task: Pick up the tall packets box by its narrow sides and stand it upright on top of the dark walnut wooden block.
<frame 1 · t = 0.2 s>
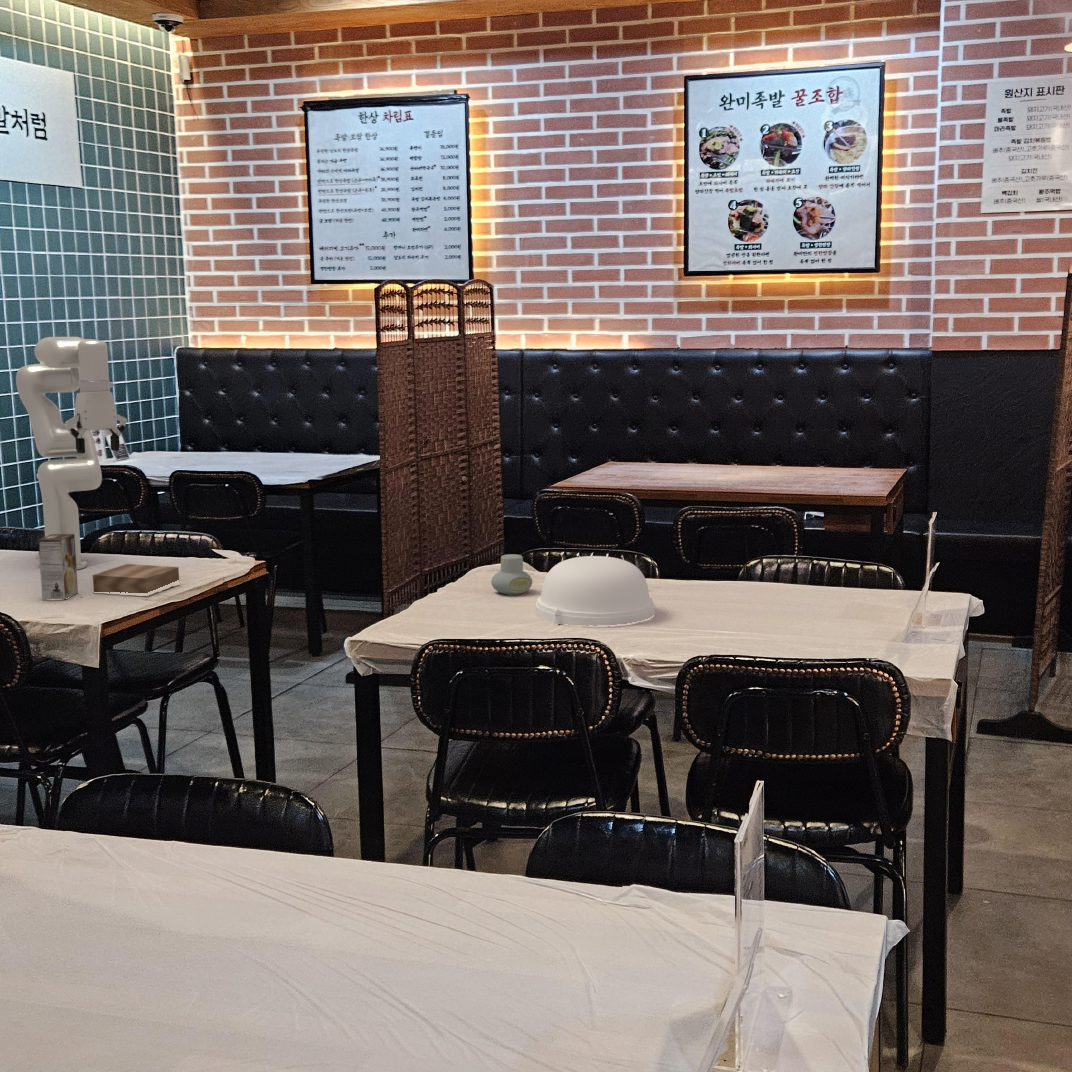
hand: (98, 451, 353), 37 cm above the table, tool pointing down, fingers open, 9 cm apart
dome cover: (594, 615, 330), on the table
coffee box: (60, 597, 347), on the table
air freshener: (511, 593, 353), on the table
walnut base: (137, 589, 356), on the table
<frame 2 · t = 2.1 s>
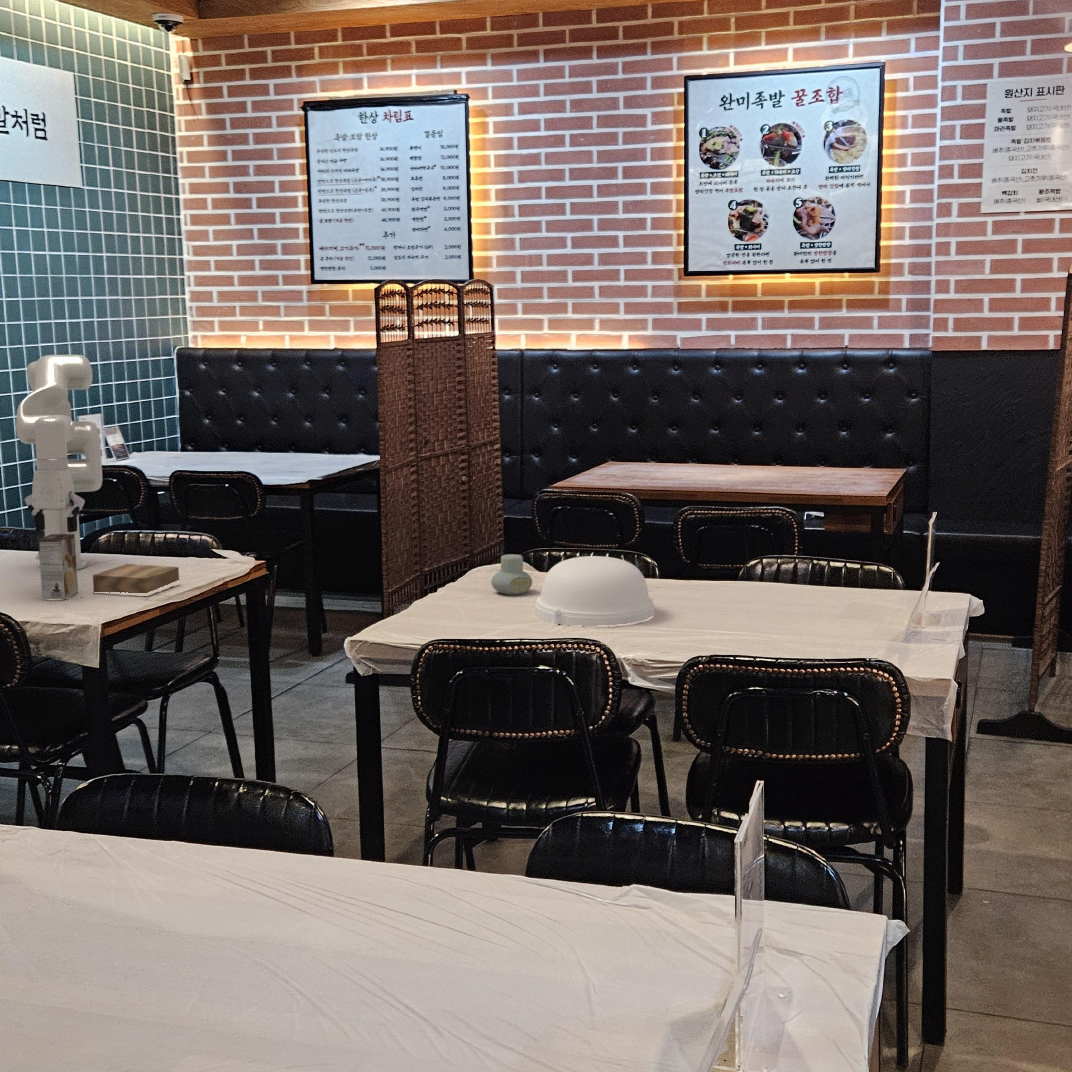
hand: (56, 531, 343), 18 cm above the table, tool pointing down, fingers open, 9 cm apart
nothing on the table moved.
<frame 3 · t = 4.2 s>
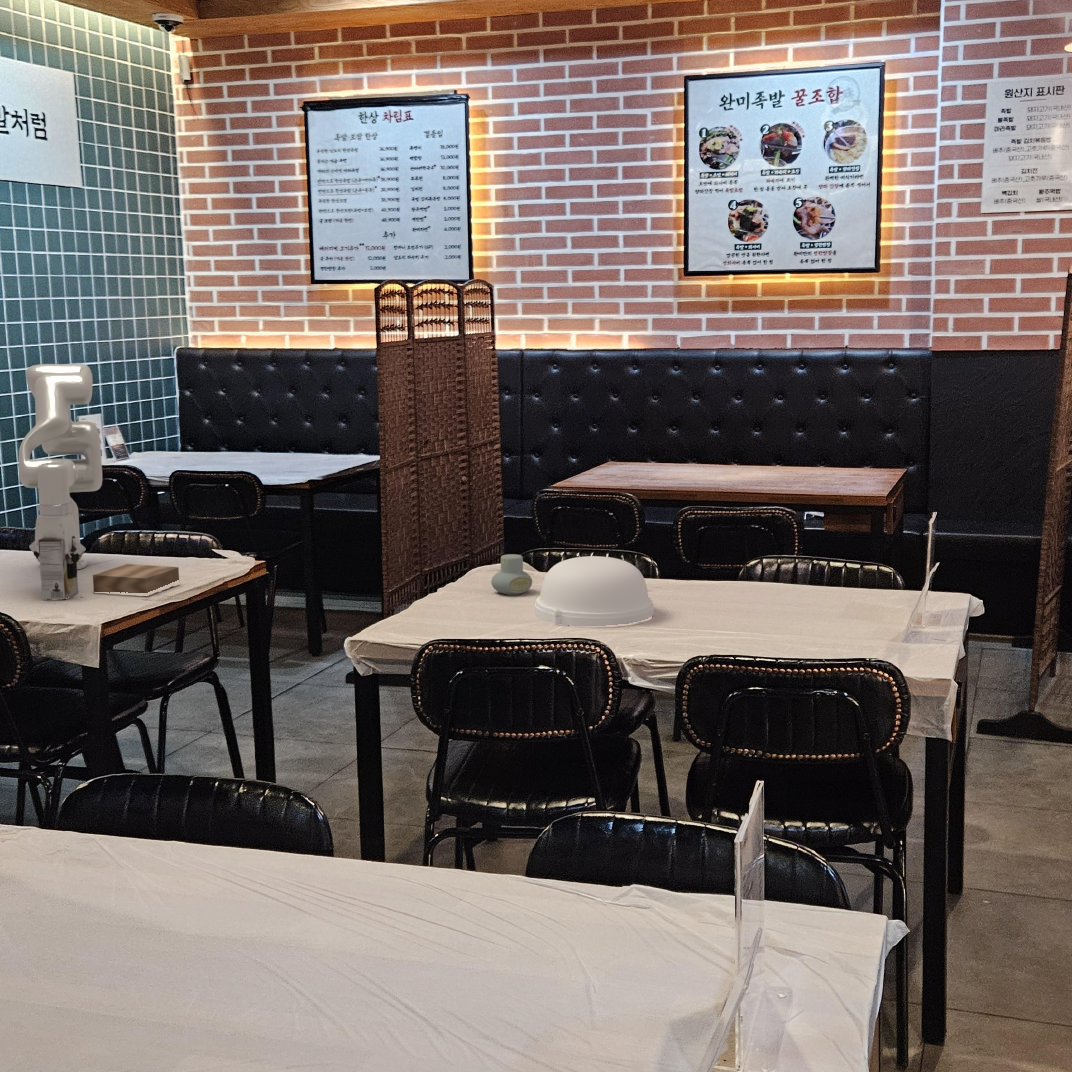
hand: (59, 576, 346), 5 cm above the table, tool pointing down, fingers closed on coffee box, 7 cm apart
coffee box: (60, 597, 347), on the table, touching gripper
everything else where it was.
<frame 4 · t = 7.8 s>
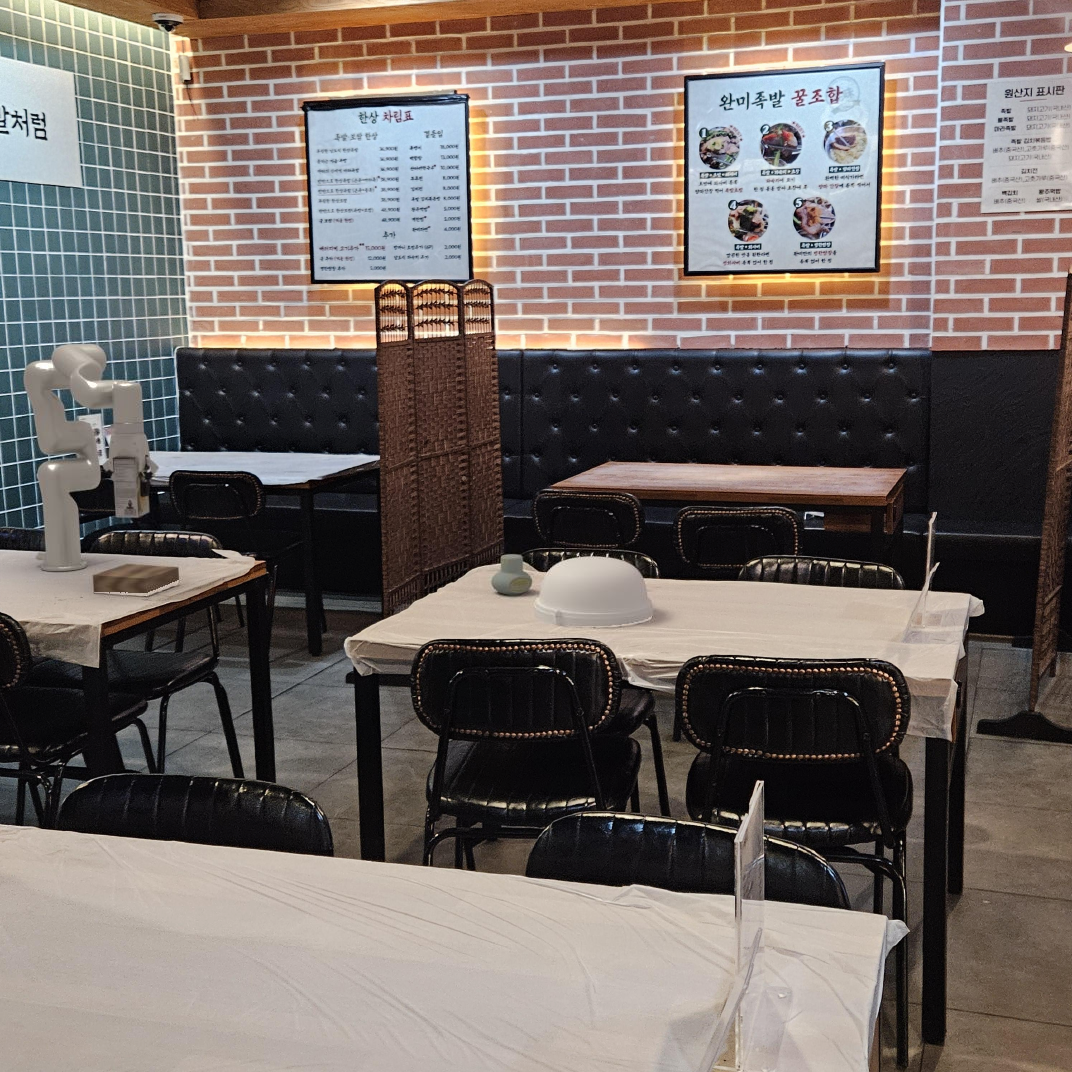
hand: (131, 495, 352), 26 cm above the table, tool pointing down, fingers closed on coffee box, 7 cm apart
coffee box: (132, 515, 353), point 20 cm above the table, touching gripper
everything else where it was.
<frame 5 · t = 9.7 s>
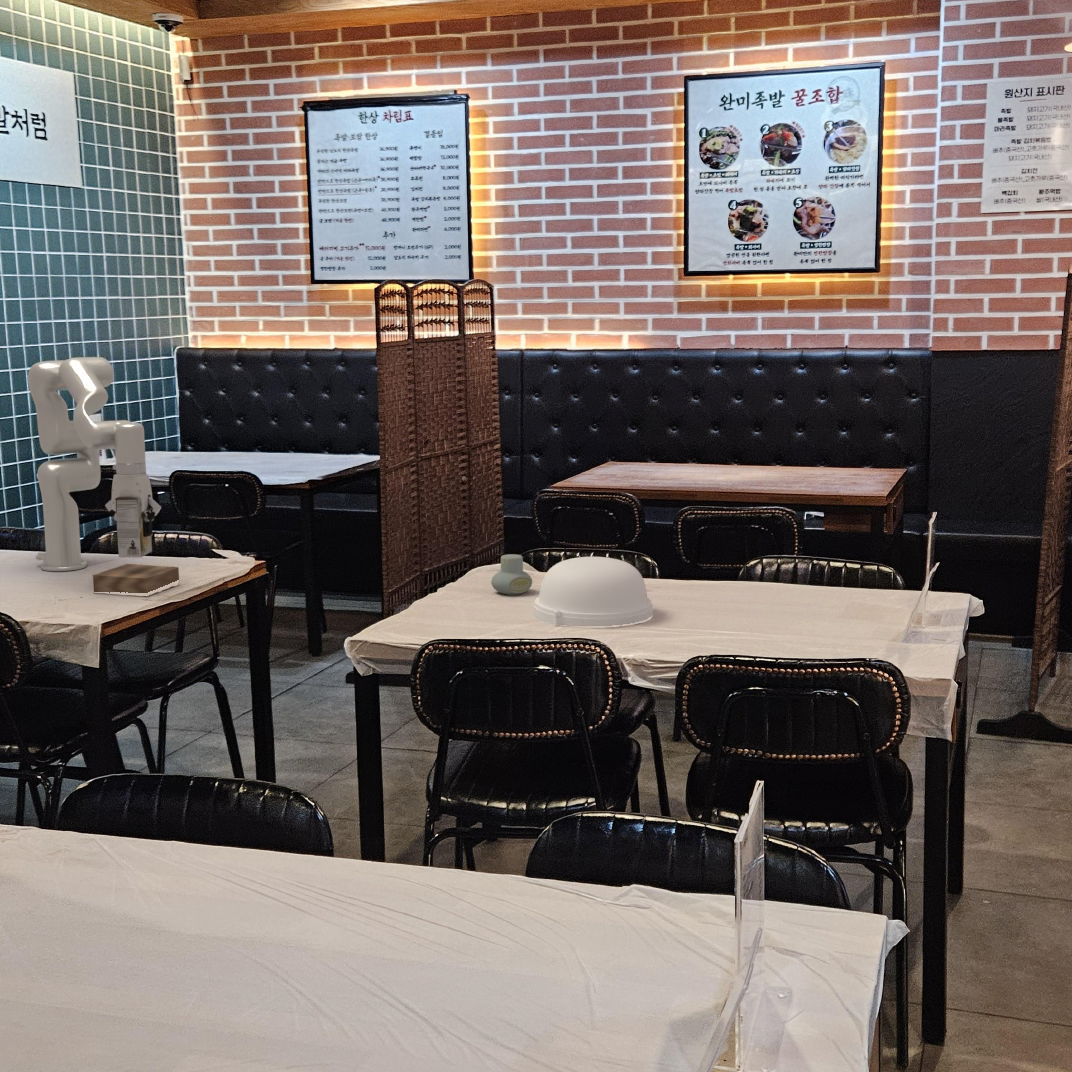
hand: (134, 534, 354), 15 cm above the table, tool pointing down, fingers closed on coffee box, 7 cm apart
coffee box: (135, 555, 355), point 9 cm above the table, touching gripper
when the fingers open (12 cm above the table, at t = 11.4 s): coffee box drops 1 cm, resting on walnut base.
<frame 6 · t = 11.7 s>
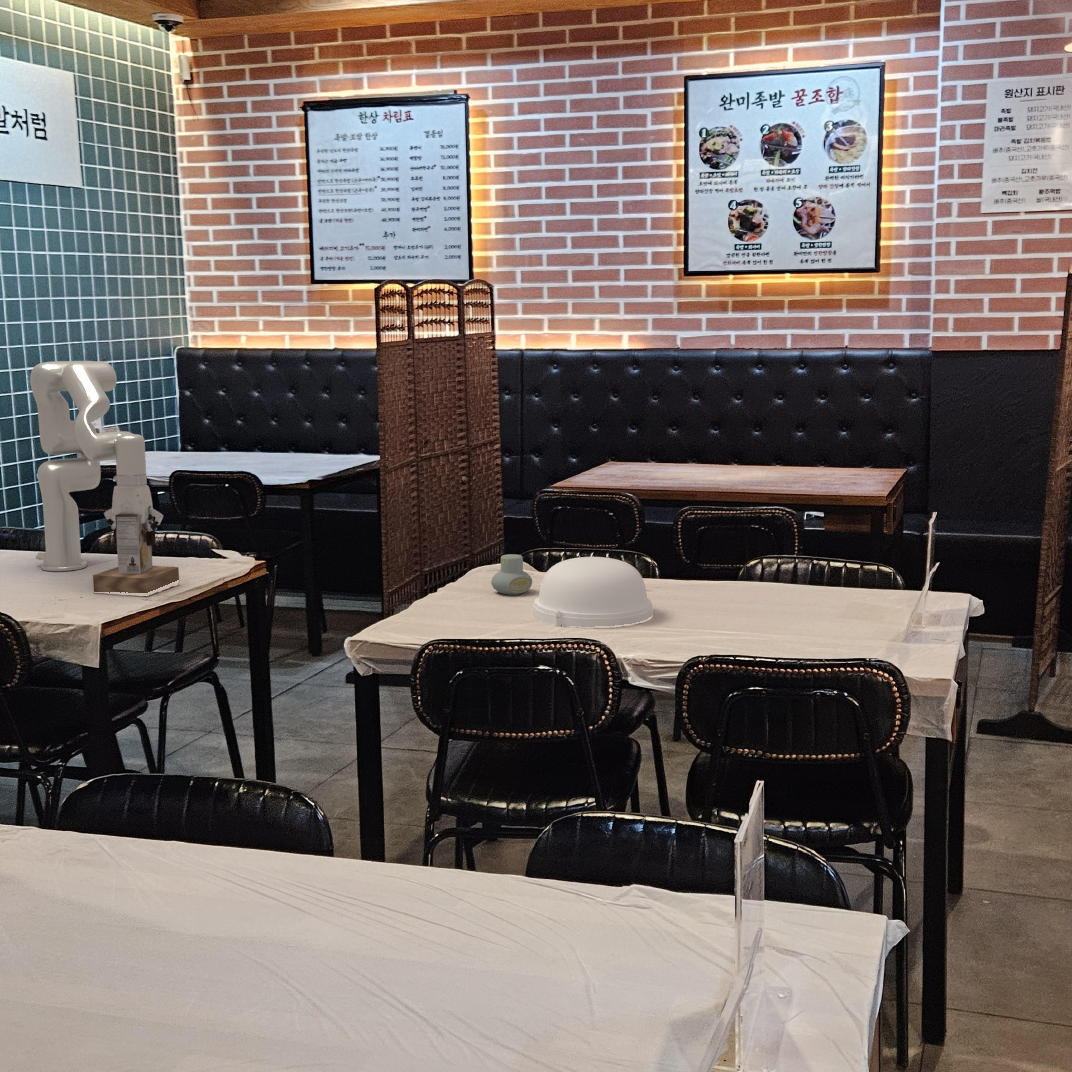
hand: (134, 544, 354), 12 cm above the table, tool pointing down, fingers open, 9 cm apart
coffee box: (135, 571, 356), point 5 cm above the table, touching walnut base
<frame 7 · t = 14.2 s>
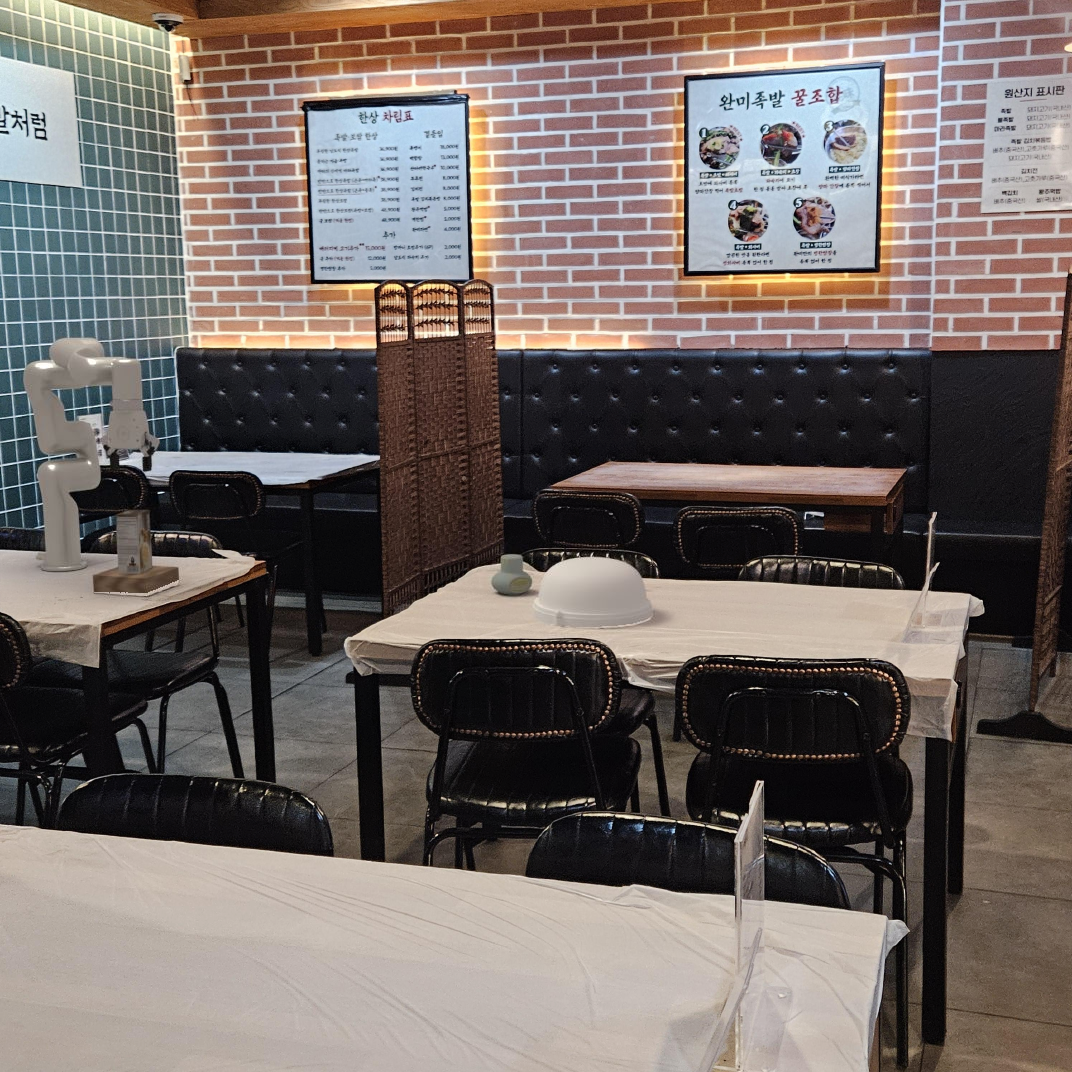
hand: (131, 470, 351), 32 cm above the table, tool pointing down, fingers open, 9 cm apart
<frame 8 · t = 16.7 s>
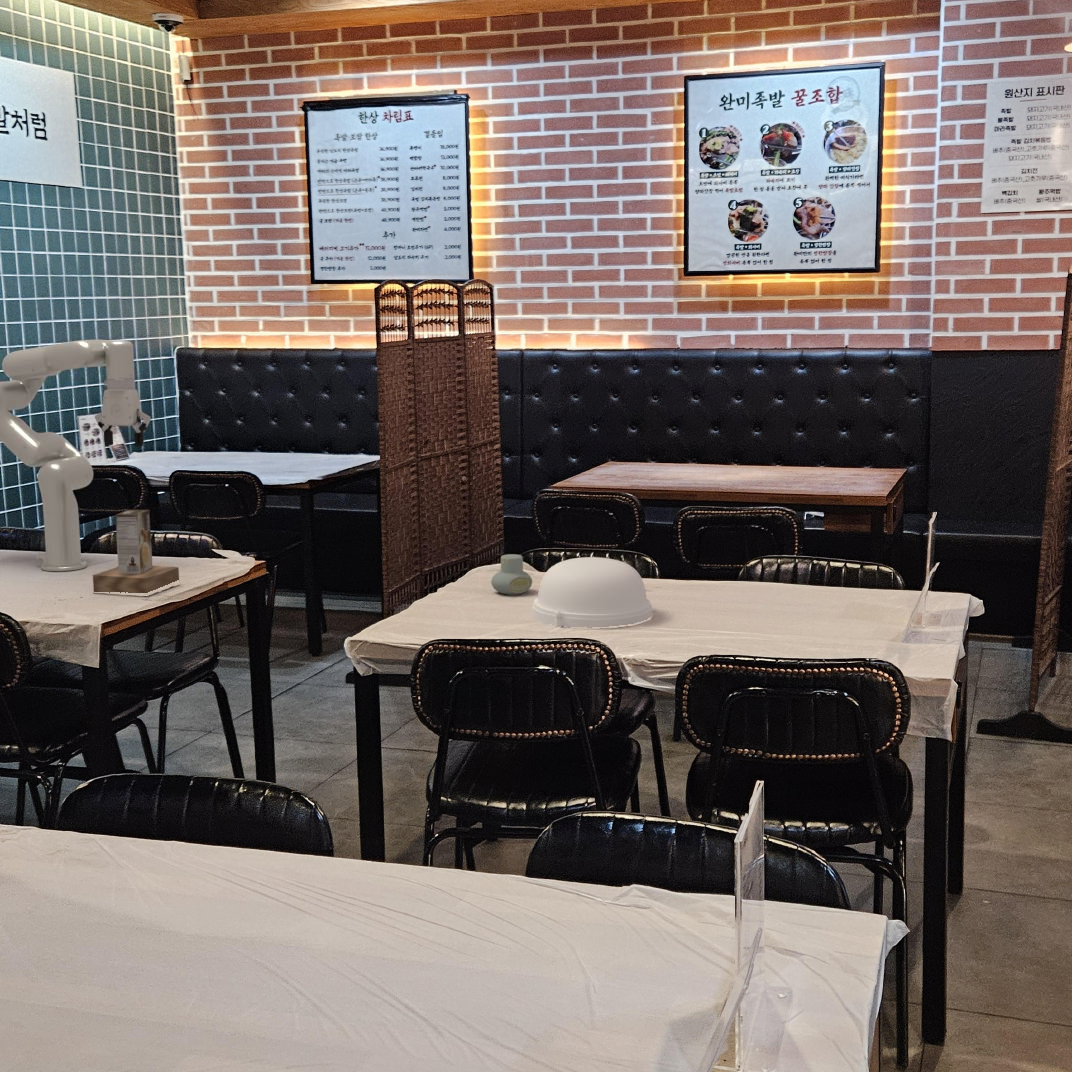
hand: (124, 445, 373), 36 cm above the table, tool pointing down, fingers open, 9 cm apart
at the end: coffee box inside the target area on the walnut base (0.2 cm from its centre), point 4.8 cm above the walnut base's base; coffee box tilted 0°; the gripper is holding nothing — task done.
